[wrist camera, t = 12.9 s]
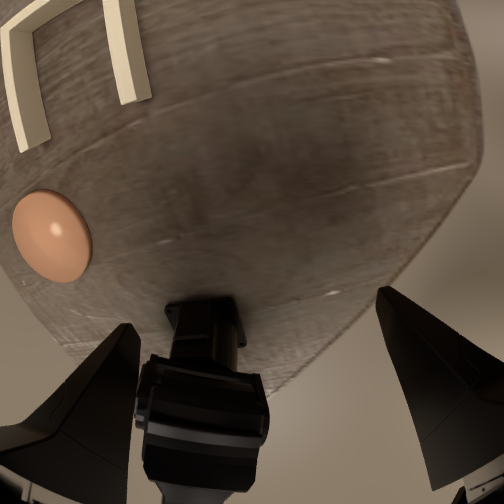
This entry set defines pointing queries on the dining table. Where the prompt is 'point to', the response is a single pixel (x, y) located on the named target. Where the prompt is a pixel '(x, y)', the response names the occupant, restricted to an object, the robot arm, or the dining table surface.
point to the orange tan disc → (52, 235)
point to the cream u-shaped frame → (25, 73)
